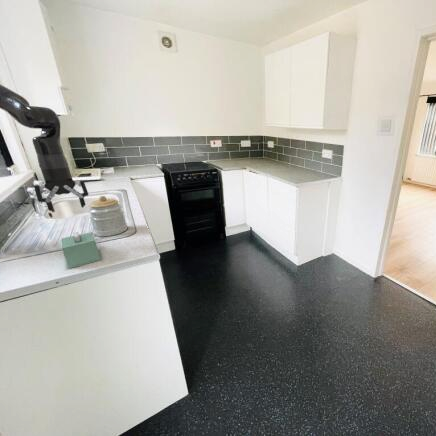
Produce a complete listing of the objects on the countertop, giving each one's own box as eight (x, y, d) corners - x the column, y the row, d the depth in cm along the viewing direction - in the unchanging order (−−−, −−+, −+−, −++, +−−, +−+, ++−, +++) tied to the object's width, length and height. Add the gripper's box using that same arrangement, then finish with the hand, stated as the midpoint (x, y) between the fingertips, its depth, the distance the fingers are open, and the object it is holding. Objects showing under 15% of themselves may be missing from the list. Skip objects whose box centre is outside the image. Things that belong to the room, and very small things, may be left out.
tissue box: (69, 268, 86) (59, 242, 82) (68, 257, 93) (59, 233, 90) (100, 259, 91) (93, 235, 88) (97, 250, 99) (90, 227, 96)
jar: (119, 235, 112) (109, 198, 106) (88, 238, 111) (76, 200, 104) (132, 225, 124) (124, 192, 118) (104, 227, 123) (94, 193, 117)
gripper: (79, 164, 95) (90, 203, 101) (27, 167, 86) (43, 210, 92) (80, 165, 90) (92, 207, 96) (25, 169, 81) (42, 215, 87)
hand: (68, 209), depth 94 cm, fingers open, 8 cm apart
